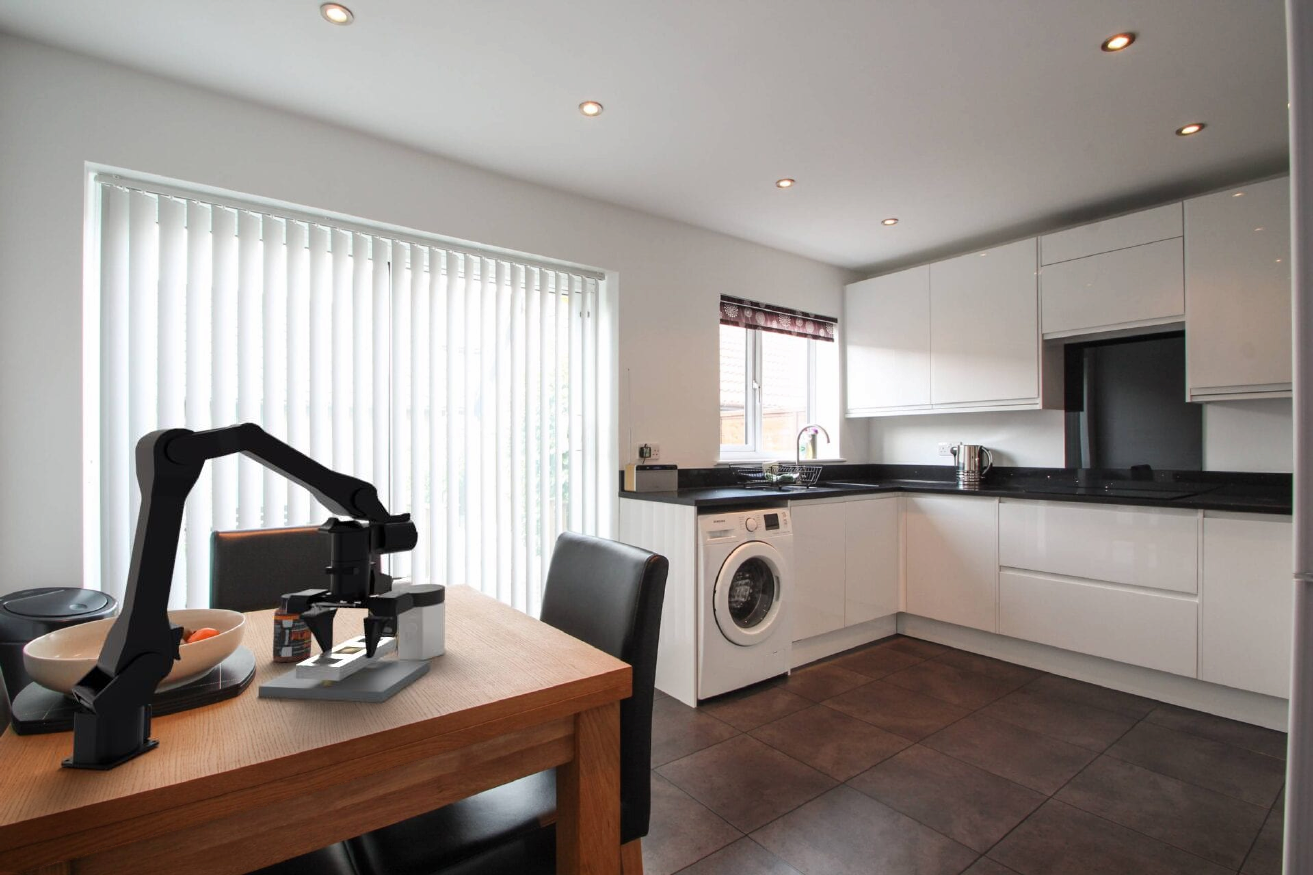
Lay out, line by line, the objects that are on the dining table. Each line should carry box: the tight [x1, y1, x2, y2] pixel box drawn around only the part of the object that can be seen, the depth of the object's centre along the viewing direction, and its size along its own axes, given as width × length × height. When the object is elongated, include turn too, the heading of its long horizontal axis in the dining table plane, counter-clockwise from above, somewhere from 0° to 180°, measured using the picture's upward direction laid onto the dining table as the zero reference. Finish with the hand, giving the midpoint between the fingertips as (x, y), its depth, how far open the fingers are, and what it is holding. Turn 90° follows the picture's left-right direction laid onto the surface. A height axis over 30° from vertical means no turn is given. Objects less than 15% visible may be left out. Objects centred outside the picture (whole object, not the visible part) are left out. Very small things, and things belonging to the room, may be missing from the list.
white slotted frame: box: [295, 635, 397, 681], centre depth 96 cm, size 15×7×2 cm, turn 173°
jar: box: [397, 583, 446, 661], centre depth 111 cm, size 9×8×12 cm
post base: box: [258, 648, 431, 703], centre depth 96 cm, size 14×20×5 cm
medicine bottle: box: [367, 576, 413, 646], centre depth 120 cm, size 7×7×12 cm
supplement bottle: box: [272, 592, 313, 663], centre depth 109 cm, size 6×6×11 cm
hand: (349, 656), depth 96 cm, fingers closed on white slotted frame, 7 cm apart
